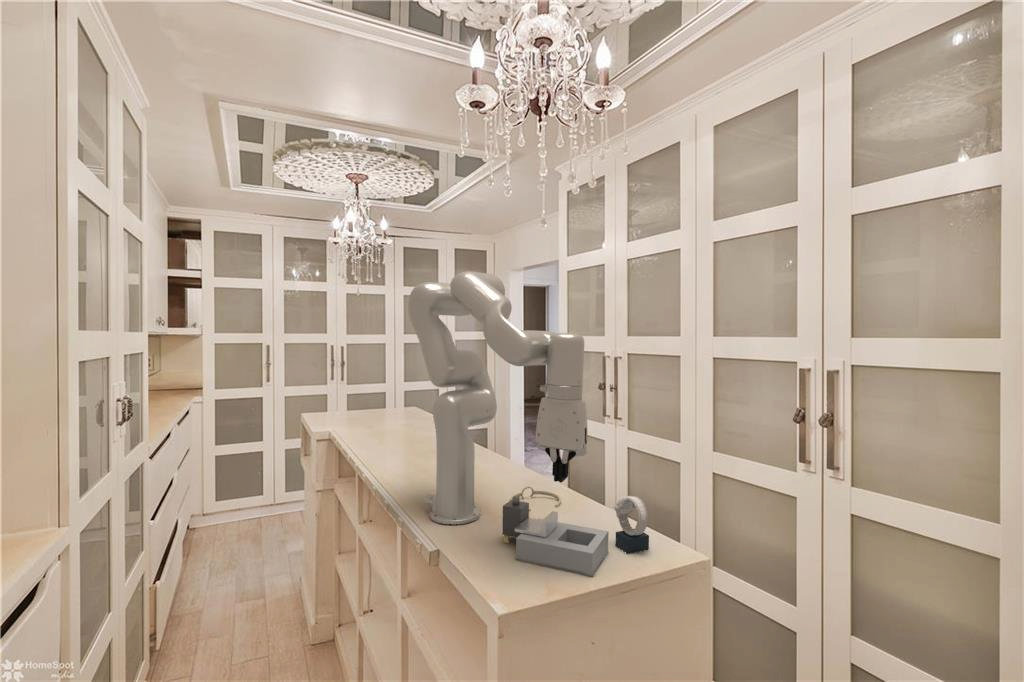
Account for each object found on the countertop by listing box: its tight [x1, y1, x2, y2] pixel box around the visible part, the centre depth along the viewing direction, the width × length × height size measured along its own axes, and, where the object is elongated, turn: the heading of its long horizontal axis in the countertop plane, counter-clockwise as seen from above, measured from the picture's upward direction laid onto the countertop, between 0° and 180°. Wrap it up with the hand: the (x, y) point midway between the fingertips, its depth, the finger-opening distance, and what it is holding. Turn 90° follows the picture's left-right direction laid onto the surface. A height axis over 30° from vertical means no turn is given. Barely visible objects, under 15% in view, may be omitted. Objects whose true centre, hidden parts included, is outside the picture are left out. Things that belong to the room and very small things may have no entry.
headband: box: [509, 485, 562, 512], centre depth 137 cm, size 15×4×10 cm
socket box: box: [515, 518, 609, 578], centre depth 105 cm, size 16×12×4 cm
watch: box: [614, 495, 650, 555], centre depth 109 cm, size 6×8×11 cm
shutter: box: [515, 510, 559, 537], centre depth 107 cm, size 7×7×3 cm
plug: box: [502, 495, 530, 544], centre depth 112 cm, size 4×4×10 cm
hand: (560, 480), depth 105 cm, fingers closed
